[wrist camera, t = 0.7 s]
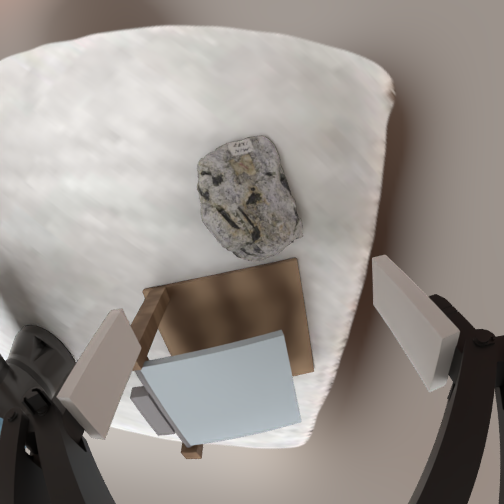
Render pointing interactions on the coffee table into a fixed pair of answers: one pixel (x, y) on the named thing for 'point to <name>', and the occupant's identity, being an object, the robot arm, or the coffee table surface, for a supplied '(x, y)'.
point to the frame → (227, 315)
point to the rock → (247, 199)
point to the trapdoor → (219, 391)
